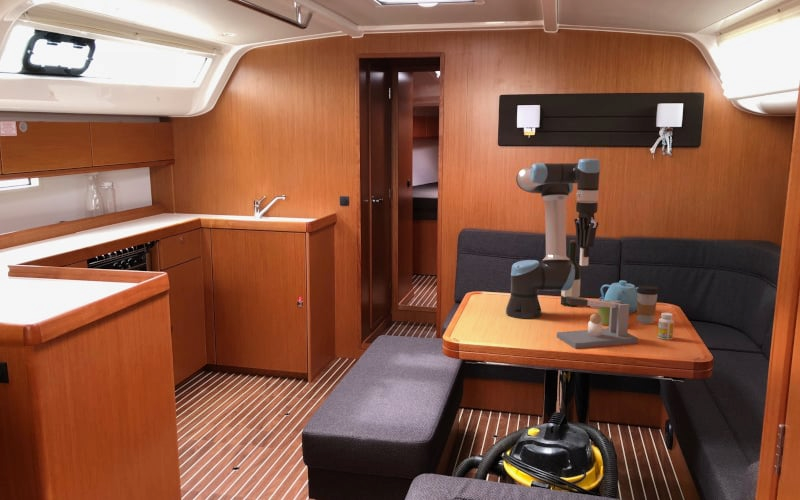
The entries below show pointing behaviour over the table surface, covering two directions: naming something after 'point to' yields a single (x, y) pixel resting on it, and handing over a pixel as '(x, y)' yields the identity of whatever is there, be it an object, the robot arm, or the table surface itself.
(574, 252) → the wine bottle
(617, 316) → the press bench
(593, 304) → the press lever
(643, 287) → the coffee cup
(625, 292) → the decorative pot
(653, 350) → the table surface
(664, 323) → the supplement bottle
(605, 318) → the plant pot
